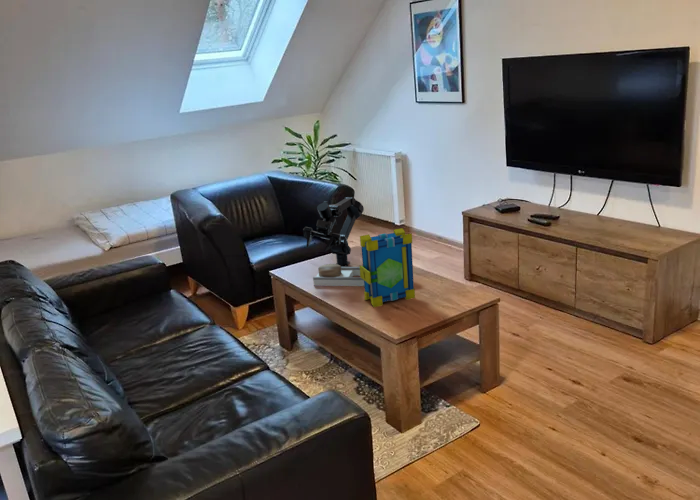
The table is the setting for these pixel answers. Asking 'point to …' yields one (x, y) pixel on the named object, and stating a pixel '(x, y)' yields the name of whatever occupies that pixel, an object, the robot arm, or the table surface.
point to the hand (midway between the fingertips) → (315, 249)
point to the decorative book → (387, 267)
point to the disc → (330, 270)
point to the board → (341, 278)
